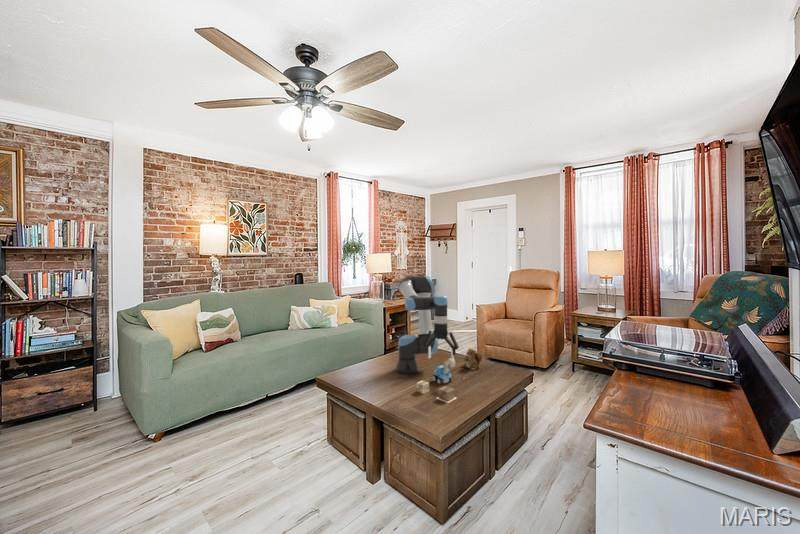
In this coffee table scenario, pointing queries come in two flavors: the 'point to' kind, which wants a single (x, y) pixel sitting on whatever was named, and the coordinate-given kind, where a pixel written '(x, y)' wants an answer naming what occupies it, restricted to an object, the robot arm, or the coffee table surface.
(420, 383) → the maple block
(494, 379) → the coffee table surface
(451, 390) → the walnut block
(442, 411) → the coffee table surface
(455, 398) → the pad
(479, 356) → the stuffed squirrel
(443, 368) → the toy excavator
